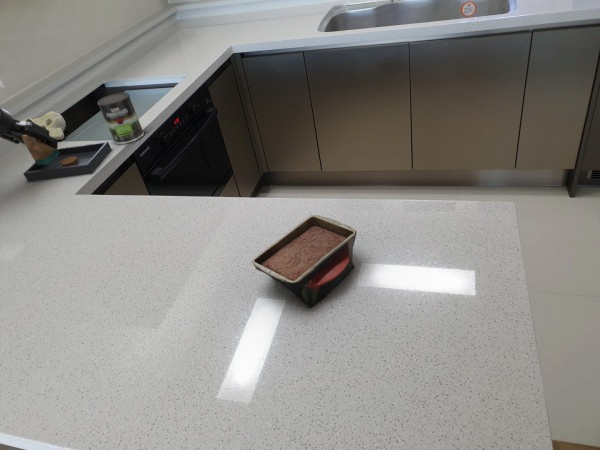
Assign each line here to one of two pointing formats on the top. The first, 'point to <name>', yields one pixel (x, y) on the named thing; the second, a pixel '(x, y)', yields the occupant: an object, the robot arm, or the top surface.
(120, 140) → the coffee can
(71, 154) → the pan
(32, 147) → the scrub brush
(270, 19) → the top surface
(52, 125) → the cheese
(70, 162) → the grease smear
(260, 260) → the baking dish
